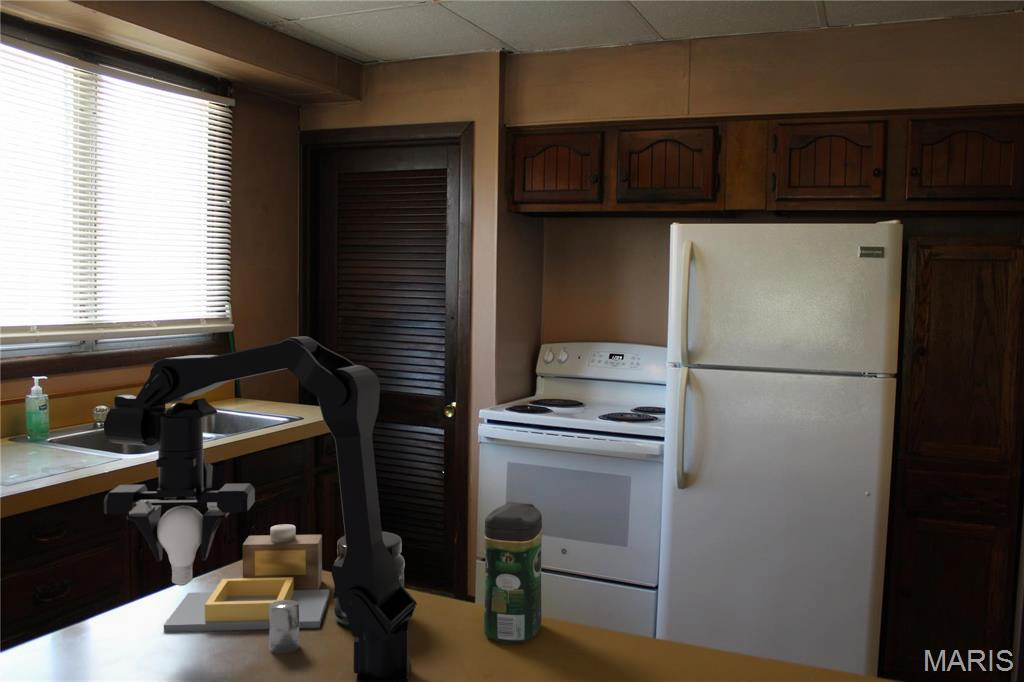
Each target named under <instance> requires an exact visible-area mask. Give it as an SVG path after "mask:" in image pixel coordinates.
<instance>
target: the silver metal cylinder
mask: <svg viewBox="0 0 1024 682" xmlns="http://www.w3.org/2000/svg"><path fill="white" fill-rule="evenodd" d="M268 632H269V633H268V636H269V638H268V644H269V645H268V648H269V651H270V652H271V653H274V654H278V655H280V654H281V655H283V654H290V653H293V652H296V651H297V650H298V649H299V648H300V628H299V603H298V602H297V601H294V600H280V601H276V602H273V603H271V604H270V605H269V629H268Z"/></svg>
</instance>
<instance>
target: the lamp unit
mask: <svg viewBox="0 0 1024 682" xmlns="http://www.w3.org/2000/svg"><path fill="white" fill-rule="evenodd" d="M296 527H297V526H295V525H294V524H287V523H285V524H284V523H282V524H276V525H273V526H271V527H270V530H269V531H270V534H269V535H268V534H267V535H248V537H247V538H246V539H245V541H244V542H243V544H242V578H282V577H294V590H320V587H321V585H322V582H323V534H296V532H297V531H296V529H297V528H296Z"/></svg>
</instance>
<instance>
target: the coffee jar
mask: <svg viewBox="0 0 1024 682" xmlns="http://www.w3.org/2000/svg"><path fill="white" fill-rule="evenodd" d="M542 521H543V518H542V513H541V511H540V510H539V509H538V508H537V507H535V506H534V505H533V504H532V503H526V502H511V501H508V502H506V503H505V504H503V505H501V506H499V507H497V508H495V509H494V510H492V511H491V512H490V513H489V514H487V516H486V517H485V519H484V535H483V538H484V554H485V562H484V563H485V571H484V573H485V574H484V575H485V576H484V578H485V579H484V610H483V611H484V613H483V618H484V619H483V632H484V635H485V636H486V637H487V638H489V639H491V640H494V641H497V642H499V643H502V644H508V645H509V644H511V645H512V644H515V643H516V644H518V643H527V642H530V641H532V640H533V638H534V637H536V635H537V634H538V632H539V630H540V628H541V625H542V615H543V614H542V544H543V543H542V538H543V535H542V534H543V522H542Z"/></svg>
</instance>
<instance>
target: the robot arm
mask: <svg viewBox="0 0 1024 682" xmlns="http://www.w3.org/2000/svg"><path fill="white" fill-rule="evenodd" d="M152 364H153V365H152V368H150V369H151V370H150V373H149V377H148V378H147V380H146V381H145V383H144V385H142V388H141V390H140V391H139V392H138V394H137V396H135V395H134V394H122V395H116V396H114V405H113V406H112V407H110V408H109V410H108V411H107V414H106V415H105V420H104V421H103V433H104V436H105V437H106V439H107V440H108V441H109V442H110V443H113V444H121V445H131V446H132V445H134V446H135V445H136V446H147V447H148V446H149V447H151V446H152V447H153V446H155V445H156V444H157V443H158V449H157V453H158V458H157V459H156V461H155V462H156V465H155V466H156V468H158V488H157V489H156V490H155V491H154V490H153V491H150V490H149V491H148V488H147V485H146V484H120V485H118V486H116V487H115V488H113V489H112V490H110V491H109V492H108V493H107V494H105V496H104V499H103V514H105V515H126V520H128V521H134V523H135V524H136V526H137V528H138V529H139V531H140V532H141V533H142V535H143V536H144V538H145V540H146V542H147V544H148V546H149V548H150V550H151V551H152V554H153V555H154V558H155V560H156V561H157V562H161V561H162V560H163V549H164V548H163V546H162V545H161V544H160V542H159V540H158V537H157V526H158V522H159V520H160V519H161V513H162V506H195V505H196V506H198V505H199V506H207V508H208V509H207V511H205V512H204V514H202V515H203V520H202V542H201V544H200V545H201V547H200V548H201V549H200V550H201V551H200V552H201V560H202V561H206V560H207V559H208V556H209V552H210V550H211V547H212V544H213V541H214V538H215V534H216V531H217V528H218V527H219V524H220V522H221V520H222V519H226V518H227V517H228V515H230V514H231V513H232V514H233V513H244V512H249V510H250V509H251V507H252V506H253V505H254V503H256V499H255V498H256V491H255V487H254V486H253V485H252V484H251V483H224V485H223V486H222V487H221V488H220V489H219V490H204V489H210V488H212V486H213V485H212V484H213V472H214V471H213V470H214V466H213V465H212V464H211V463H209V462H207V461H206V454H205V450H204V428H203V427H204V419H203V418H206V417H210V416H211V417H212V416H215V415H217V414H218V410H217V409H216V407H214V406H213V405H212V404H210V403H209V402H208V401H207V399H206V398H205V397H202V398H196V399H194V400H193V401H192V402H189V403H188V402H182V401H184V400H186V399H188V398H191V397H198V396H201V395H204V394H205V393H207V392H210V391H212V390H215V389H217V388H218V387H220V386H222V385H224V384H225V383H227V382H228V383H229V382H231V381H235V380H239V379H244V378H248V377H255V376H258V375H263V374H267V373H268V374H269V373H271V372H272V373H274V372H277V371H281V370H286V369H288V370H289V371H290V372H291V373H292V374H293V375H294V377H295V378H296V379H297V380H298V381H299V383H300V384H301V386H302V387H303V388H304V389H305V390H307V391H309V392H310V393H311V394H312V395H314V397H316V398H317V402H318V405H319V409H320V413H321V416H322V420H323V421H324V424H325V425H326V426H327V428H328V430H329V432H330V433H331V435H332V437H333V438H334V442H335V451H336V461H337V463H336V464H337V470H338V473H337V474H338V480H339V490H340V491H339V492H340V500H341V509H342V510H341V511H342V517H343V518H342V520H343V526H344V527H343V528H344V529H343V530H344V536H345V541H346V552H345V556H344V559H342V560H341V561H339V562H338V563H336V564H335V565H334V564H333V565H332V566H331V576H332V580H333V587H334V588H333V595H332V598H333V599H334V600H335V598H337V597H338V603H339V607H340V609H341V611H342V612H343V613H345V614H346V616H347V619H348V622H349V625H350V627H349V628H350V631H351V634H352V636H353V637H354V639H353V673H354V674H355V675H356V680H355V682H409V673H410V658H409V621H408V620H409V619H410V618H412V617H413V615H414V613H415V610H416V607H417V604H418V602H417V601H416V600H415V599H414V598H413V597H412V595H411V594H410V593H409V592H408V590H407V589H406V588H405V586H404V587H403V586H402V585H401V584H400V583H399V578H398V574H397V570H396V567H395V563H394V559H393V557H392V556H391V554H390V552H389V551H388V549H387V548H386V546H385V544H384V542H383V538H382V532H383V530H382V521H381V509H380V501H379V499H380V498H379V491H378V482H377V474H376V473H377V472H376V460H375V451H374V441H373V433H374V432H373V431H374V427H375V424H376V421H377V417H378V413H379V407H380V394H381V393H380V392H381V384H380V380H379V377H378V375H377V374H376V373H375V372H374V371H372V370H371V369H370V368H369V367H366V366H364V365H360V364H356V363H354V362H352V361H351V360H349V359H348V358H347V357H345V356H342V355H341V354H339V353H336V352H335V351H332V350H330V349H329V348H327V347H325V346H323V345H322V344H320V343H319V342H318V341H316V340H315V339H314V338H312V337H309V336H306V335H305V336H294V337H293V336H291V337H288V338H285V339H283V340H281V341H277V342H273V343H268V344H264V345H260V346H254V347H251V348H246V349H241V350H236V351H232V352H228V353H223V354H215V355H214V354H207V355H206V354H198V355H197V354H195V355H194V354H192V355H191V354H190V355H184V356H175V357H166V358H161V359H158V360H156V361H155V362H154V363H152ZM173 403H174V404H173ZM168 404H172V405H170V406H169V407H167V408H166V405H168Z"/></svg>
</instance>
